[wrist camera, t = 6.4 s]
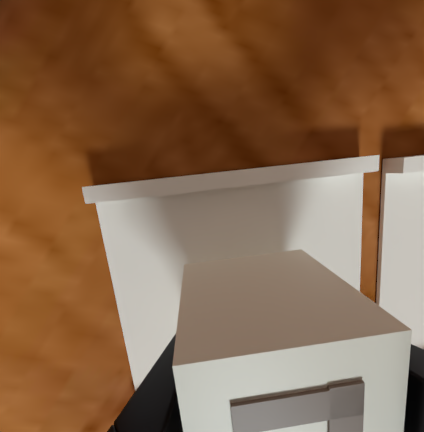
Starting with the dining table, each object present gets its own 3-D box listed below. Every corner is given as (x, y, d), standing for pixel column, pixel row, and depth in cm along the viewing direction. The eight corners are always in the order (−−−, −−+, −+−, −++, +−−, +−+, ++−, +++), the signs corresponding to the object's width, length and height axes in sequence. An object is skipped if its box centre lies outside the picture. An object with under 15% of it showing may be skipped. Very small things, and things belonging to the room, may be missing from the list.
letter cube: (301, 249, 9) (415, 332, 4) (304, 349, 10) (400, 506, 5) (184, 264, 8) (171, 370, 4) (198, 365, 9) (201, 545, 5)
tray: (360, 156, 9) (379, 154, 9) (354, 374, 12) (369, 392, 11) (94, 185, 9) (81, 187, 8) (140, 408, 11) (135, 431, 10)
